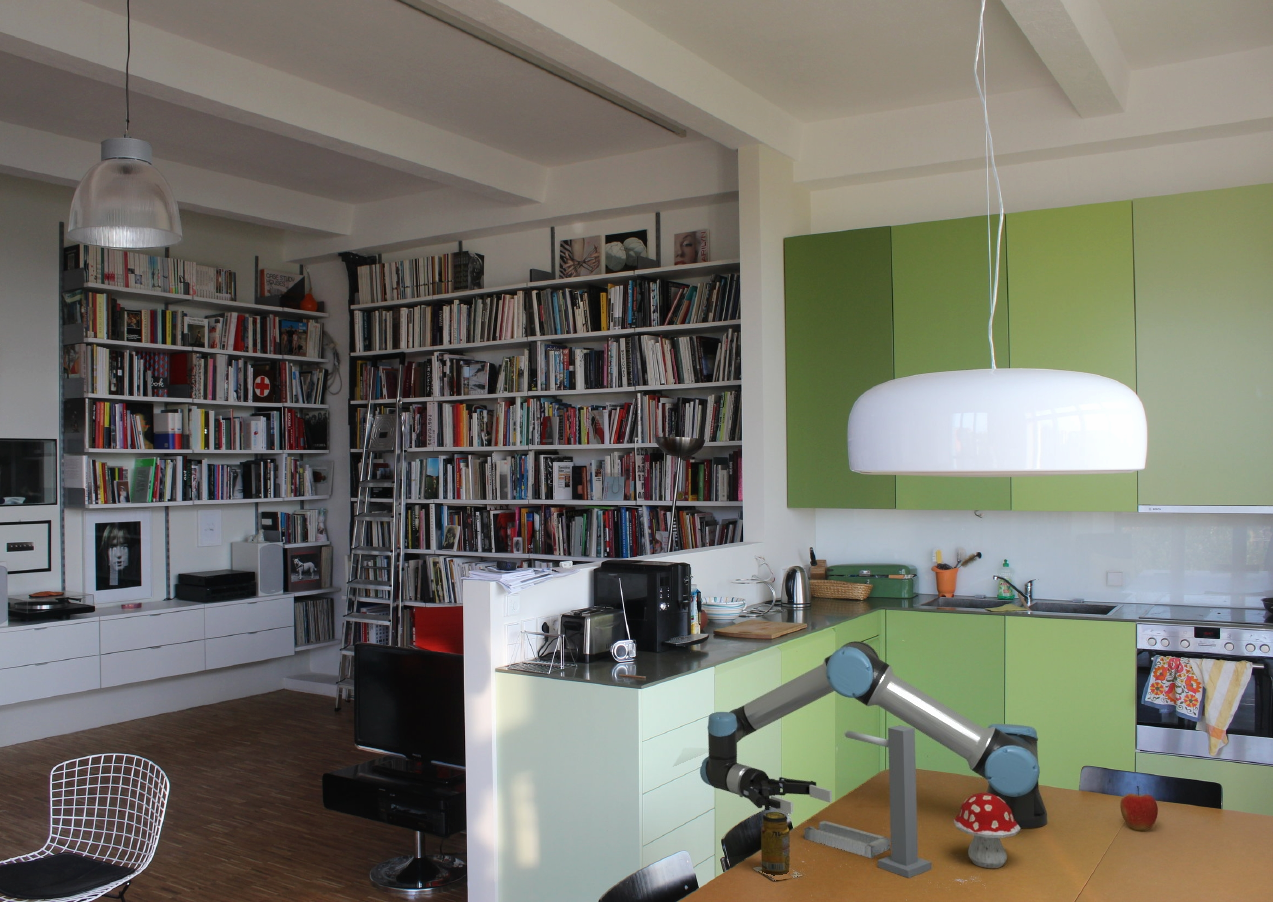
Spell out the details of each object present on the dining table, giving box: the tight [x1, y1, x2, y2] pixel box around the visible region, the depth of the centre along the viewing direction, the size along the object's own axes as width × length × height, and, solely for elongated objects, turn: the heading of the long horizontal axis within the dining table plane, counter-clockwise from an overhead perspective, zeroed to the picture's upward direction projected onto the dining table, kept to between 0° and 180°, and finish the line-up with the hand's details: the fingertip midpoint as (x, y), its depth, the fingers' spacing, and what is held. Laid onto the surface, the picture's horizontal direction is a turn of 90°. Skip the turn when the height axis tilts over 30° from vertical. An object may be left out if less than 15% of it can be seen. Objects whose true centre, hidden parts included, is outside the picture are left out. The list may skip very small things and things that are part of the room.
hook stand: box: [844, 725, 932, 879], centre depth 219 cm, size 20×8×30 cm, turn 38°
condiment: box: [752, 811, 803, 882], centre depth 212 cm, size 7×8×12 cm
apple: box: [1119, 785, 1159, 832], centre depth 237 cm, size 8×8×10 cm
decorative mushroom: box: [953, 792, 1021, 869], centre depth 216 cm, size 14×14×15 cm
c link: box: [803, 820, 891, 859], centre depth 229 cm, size 8×2×18 cm
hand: (811, 802), depth 235 cm, fingers open, 13 cm apart
